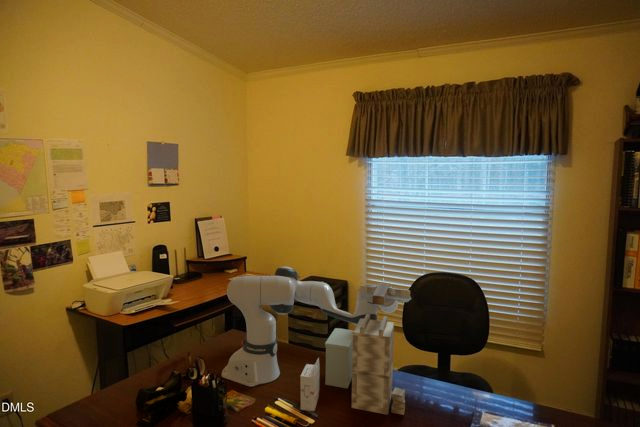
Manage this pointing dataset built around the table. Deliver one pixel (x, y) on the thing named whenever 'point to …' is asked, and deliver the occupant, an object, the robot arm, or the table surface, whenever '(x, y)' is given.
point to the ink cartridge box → (310, 386)
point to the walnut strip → (380, 293)
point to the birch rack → (372, 365)
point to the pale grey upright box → (339, 358)
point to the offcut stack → (398, 401)
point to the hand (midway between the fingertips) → (382, 288)
